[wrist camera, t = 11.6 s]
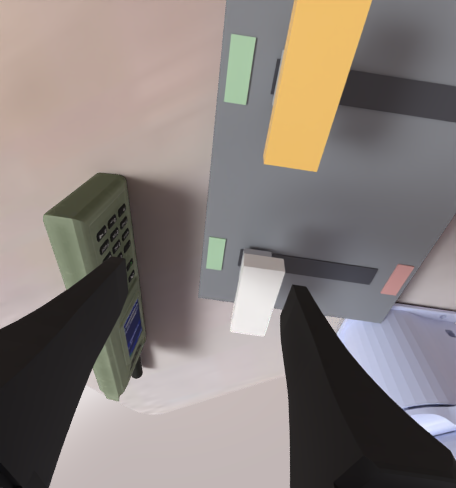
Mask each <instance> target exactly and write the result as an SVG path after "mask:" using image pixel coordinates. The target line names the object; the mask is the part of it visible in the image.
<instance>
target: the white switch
mask: <svg viewBox="0 0 456 488" xmlns="http://www.w3.org/2000/svg"><path fill="white" fill-rule="evenodd" d="M284 274H285V266H284V259H281V258H274V257H272V254H271V252H268V251H261V250H254V249H247V248H244V251H243V256H242V261H241V266H240V271H239V281H238V286H237V291H236V296H235V301H234V306H233V311H232V316H231V325H230V332H235V333H242V334H249V335H256V336H263V337H264V336H265V333H266V330H267V327H268V324H269V321H270V318H271V314H272V311H273V308H274V305H275V302H276V299H277V296H278V293H279V290H280V287H281V284H282V281H283V277H284Z"/></svg>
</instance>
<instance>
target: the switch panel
mask: <svg viewBox="0 0 456 488" xmlns="http://www.w3.org/2000/svg"><path fill="white" fill-rule="evenodd" d="M293 4H294V0H226V9H225V20H224V30H223V41H222V52H221V62H220V73H219V83H218V94H217V105H216V115H215V126H214V136H213V147H212V158H211V168H210V179H209V189H208V200H207V211H206V221H205V232H204V242H203V253H202V264H201V274H200V285H199V295H198V298H205V299H212V300H219V301H226V302H233V303H234V301H235V296H236V291H237V286H238V281H239V271H240V266H241V261H242V256H243V251H244V248H247V249H254V250H261V251H268V252H271V254H272V257H274V258H281V259H284V266H285V274H284V277H283V281H282V284H281V287H280V290H279V293H278V296H277V299H276V302H275V305H274V308H275V309H282V310H283V307H284V305H285V302H286V299H287V297H288V294H289V292H290V289H291V286H292V284H293V285H300V286H306V287H307V288H308V290H309V292H310V293H311V295H312V297H313V298H314V300H315V302H316V303H317V305H318V307H319V308H320V310H321V312H322V313H323V315H324V316H331V317H338V318H345V319H352V320H359V321H366V322H373V323H380V324H381V323H382V321H383V320H384V318H385V317H386V315H387V314H388V312H389V311H390V309H391V308H392V306H393V305H394V304H395V302H396V301H397V299H398V298H399V296H400V295H401V293H402V292H403V290H404V289H405V287H406V286H407V284H408V283H409V281H410V280H411V279H412V277H413V276H414V274H415V273H416V271H417V270H418V268H419V267H420V265H421V264H422V262H423V261H424V259H425V258H426V256H427V255H428V254H429V252H430V251H431V249H432V248H433V246H434V245H435V243H436V242H437V240H438V239H439V237H440V236H441V234H442V233H443V231H444V230H445V229H446V227H447V226H448V224H449V223H450V221H451V220H452V218H453V217H454V215H455V214H456V0H372V2H371V5H370V9H369V12H368V15H367V18H366V21H365V24H364V27H363V30H362V33H361V36H360V40H359V43H358V46H357V49H356V52H355V55H354V58H353V61H352V64H351V67H350V71H349V74H348V77H347V80H346V83H345V86H344V89H343V92H342V95H341V98H340V102H339V105H338V108H337V111H336V114H335V117H334V120H333V123H332V126H331V129H330V133H329V136H328V139H327V142H326V145H325V148H324V151H323V154H322V157H321V160H320V164H319V167H318V170H317V172H313V171H307V170H300V169H293V168H287V167H280V166H273V165H267V164H264V159H263V154H264V149H265V144H266V139H267V134H268V129H269V124H270V119H271V114H272V109H273V105H272V102H273V96H274V91H275V86H276V81H277V76H278V71H279V66H280V61H281V56H282V51H283V50H284V49H285V44H286V39H287V34H288V29H289V24H290V19H291V14H292V9H293Z"/></svg>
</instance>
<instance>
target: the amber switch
mask: <svg viewBox="0 0 456 488" xmlns="http://www.w3.org/2000/svg"><path fill="white" fill-rule="evenodd" d="M371 2H372V0H294V4H293V9H292V14H291V19H290V24H289V29H288V34H287V39H286V44H285V49H284V50H283V51H282V56H281V61H280V66H279V71H278V76H277V81H276V86H275V91H274V96H273V102H272V105H273V109H272V114H271V119H270V124H269V129H268V134H267V139H266V144H265V149H264V154H263V159H264V164H267V165H273V166H280V167H287V168H293V169H300V170H307V171H313V172H317V170H318V167H319V164H320V160H321V157H322V154H323V151H324V148H325V145H326V142H327V139H328V136H329V133H330V129H331V126H332V123H333V120H334V117H335V114H336V111H337V108H338V105H339V102H340V98H341V95H342V92H343V89H344V86H345V83H346V80H347V77H348V74H349V71H350V67H351V64H352V61H353V58H354V55H355V52H356V49H357V46H358V43H359V40H360V36H361V33H362V30H363V27H364V24H365V21H366V18H367V15H368V12H369V9H370V5H371Z"/></svg>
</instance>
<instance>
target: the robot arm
mask: <svg viewBox="0 0 456 488" xmlns="http://www.w3.org/2000/svg"><path fill="white" fill-rule="evenodd" d="M127 295H128V282H127V270H126V259H125V258H119V257H113V256H111V257H109V258H108V259H107V260H105V261H104V262H103V263H102V264H100V265H99V266H98V267H96V268H95V269H94V270H93V271H91V272H90V273H89V274H87V275H86V276H85V277H84V278H82V279H81V280H79V281H78V282H77V283H75V284H74V285H73V286H71V287H70V288H69V289H67V290H66V291H64V292H63V293H61V294H60V295H58V296H57V297H55V298H54V299H52V300H51V301H50V302H48V303H46V304H45V305H43V306H42V307H40V308H38V309H37V310H35V311H33V312H32V313H30V314H28V315H26V316H25V317H23V318H21V319H19V320H18V321H16V322H14V323H12V324H10V325H8V326H6V327H4V328H2V329H0V488H49V485H50V482H51V479H52V476H53V473H54V470H55V467H56V464H57V461H58V458H59V455H60V452H61V449H62V446H63V443H64V441H65V438H66V435H67V432H68V430H69V427H70V424H71V421H72V418H73V416H74V413H75V411H76V408H77V406H78V403H79V400H80V398H81V395H82V392H83V390H84V388H85V385H86V383H87V380H88V378H89V375H90V373H91V370H92V368H93V366H94V364H95V362H96V360H97V358H98V356H99V354H100V352H101V350H102V349H103V347H104V345H105V343H106V341H107V339H108V337H109V335H110V333H111V331H112V329H113V328H114V326H115V324H116V322H117V320H118V318H119V316H120V314H121V311H122V309H123V306H124V304H125V301H126V298H127ZM455 323H456V312H454V311H447V310H440V309H433V308H426V307H419V306H412V305H405V304H398V303H395V304H394V305H393V306H392V308H391V309H390V311H389V312H388V314H387V315H386V317H385V318H384V320H383V321H382V323H381V324H380V323H373V322H366V321H359V320H352V319H345V320H344V321H343V323H342V325H341V327H340V329H339V330H338V332H337V334H336V333H335V332H334V330H333V329H332V327H331V326H330V324H329V323H328V321H327V319H326V318H325V316H324V315H323V313H322V312H321V310H320V308H319V307H318V305H317V303H316V302H315V300H314V298H313V297H312V295H311V293H310V292H309V290H308V288H307V287H306V286H300V285H293V284H292V286H291V289H290V292H289V294H288V297H287V299H286V302H285V305H284V307H283V310H282V313H281V315H280V332H281V345H282V352H283V360H284V367H285V374H286V381H287V389H288V399H289V425H290V488H456V324H455Z"/></svg>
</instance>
